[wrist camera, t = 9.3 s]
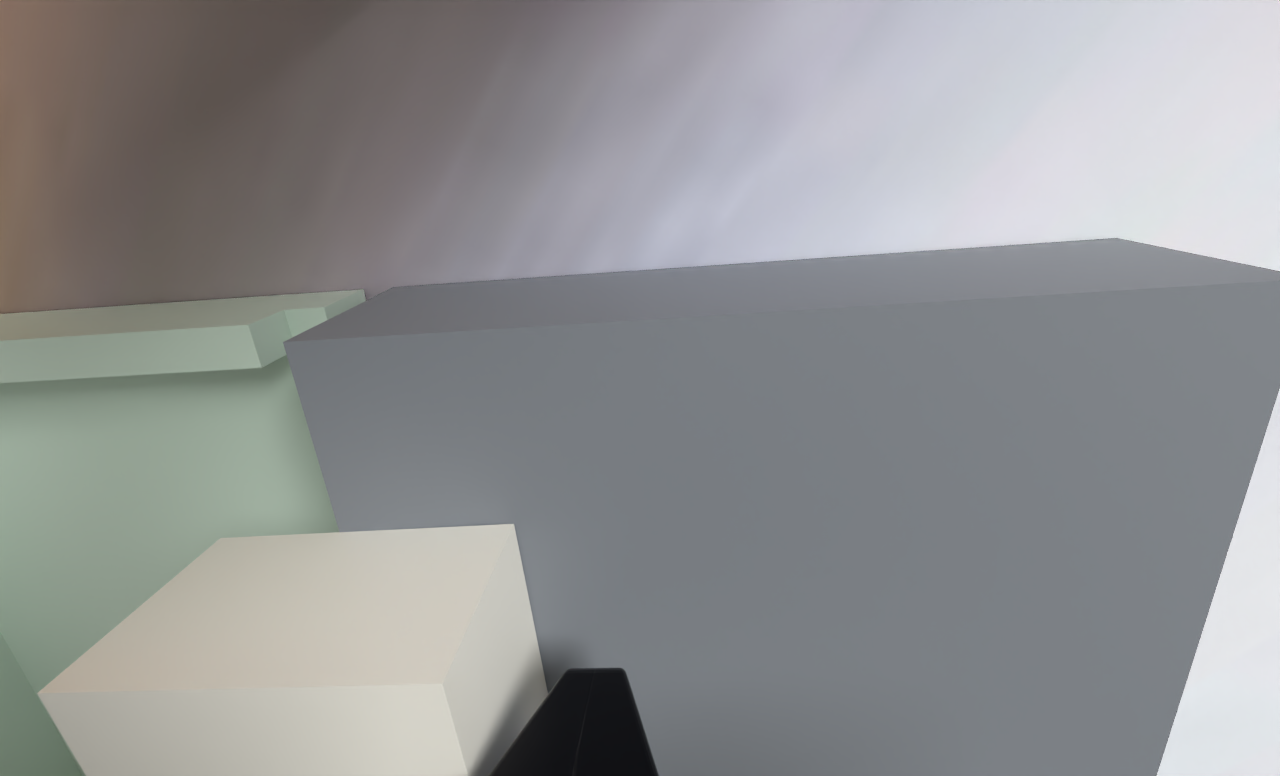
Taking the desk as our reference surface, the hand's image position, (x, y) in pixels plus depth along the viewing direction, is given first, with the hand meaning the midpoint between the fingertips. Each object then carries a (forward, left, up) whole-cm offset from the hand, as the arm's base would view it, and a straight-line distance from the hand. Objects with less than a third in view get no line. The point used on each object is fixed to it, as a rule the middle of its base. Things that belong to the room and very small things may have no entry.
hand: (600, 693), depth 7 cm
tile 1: (0, +3, -1) cm, 3 cm away
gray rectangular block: (-3, -2, -4) cm, 6 cm away
